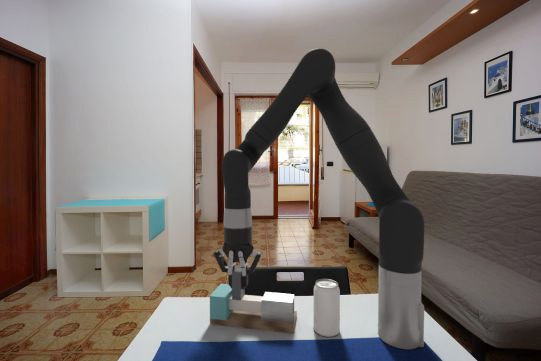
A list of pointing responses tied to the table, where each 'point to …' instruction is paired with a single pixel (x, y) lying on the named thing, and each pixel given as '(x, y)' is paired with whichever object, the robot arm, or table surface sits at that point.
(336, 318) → the can
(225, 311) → the socket
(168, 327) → the table surface
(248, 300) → the sliding bolt
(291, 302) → the grey speckled block
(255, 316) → the board
